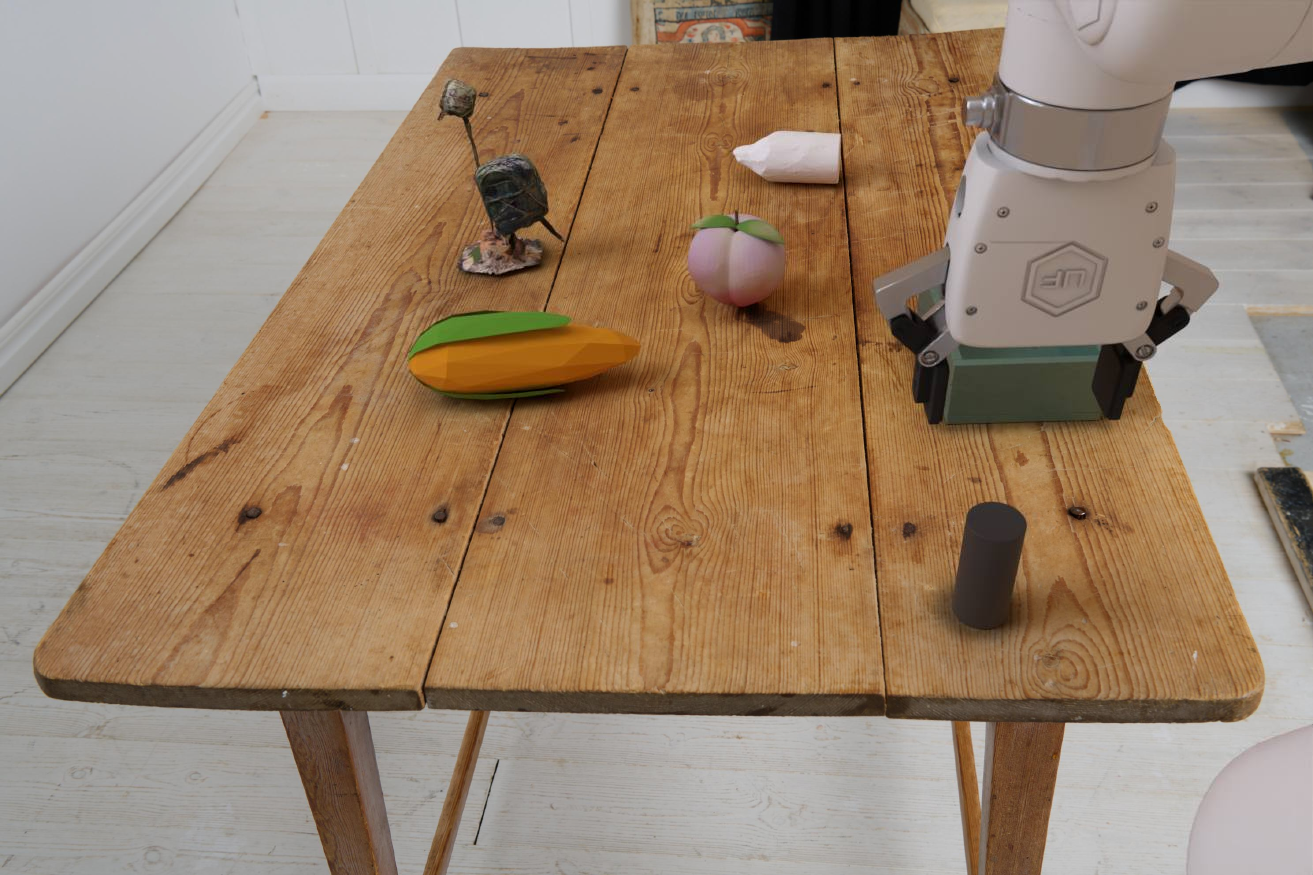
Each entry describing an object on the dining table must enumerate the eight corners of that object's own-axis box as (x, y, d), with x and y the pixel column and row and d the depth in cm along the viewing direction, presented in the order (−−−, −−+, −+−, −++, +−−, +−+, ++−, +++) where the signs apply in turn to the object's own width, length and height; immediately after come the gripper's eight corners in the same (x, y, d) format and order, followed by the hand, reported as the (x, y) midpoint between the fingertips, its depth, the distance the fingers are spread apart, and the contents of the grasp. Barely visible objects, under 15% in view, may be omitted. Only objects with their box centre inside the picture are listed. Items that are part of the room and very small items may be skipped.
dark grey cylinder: (1001, 588, 72) (1019, 500, 67) (1013, 629, 69) (1033, 540, 64) (947, 589, 72) (961, 501, 67) (957, 629, 69) (972, 542, 64)
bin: (1099, 420, 85) (1114, 360, 81) (946, 424, 86) (954, 365, 82) (1050, 315, 97) (1061, 259, 93) (915, 319, 98) (921, 264, 94)
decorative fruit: (795, 287, 104) (798, 193, 97) (777, 332, 98) (778, 235, 91) (702, 277, 106) (699, 184, 100) (679, 321, 100) (674, 225, 94)
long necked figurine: (548, 285, 107) (520, 90, 94) (446, 274, 110) (405, 84, 97) (575, 246, 113) (553, 58, 100) (478, 237, 116) (444, 53, 103)
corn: (404, 297, 91) (636, 279, 91) (423, 366, 97) (642, 349, 96) (392, 350, 86) (639, 331, 86) (413, 420, 91) (645, 403, 91)
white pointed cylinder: (737, 167, 125) (736, 121, 122) (839, 169, 123) (842, 123, 120) (730, 190, 121) (729, 143, 117) (836, 193, 119) (839, 145, 115)
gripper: (898, 160, 47) (870, 454, 58) (1306, 144, 46) (1198, 447, 57) (876, 93, 52) (855, 372, 63) (1238, 77, 51) (1152, 363, 62)
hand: (1017, 407), depth 60 cm, fingers open, 9 cm apart
